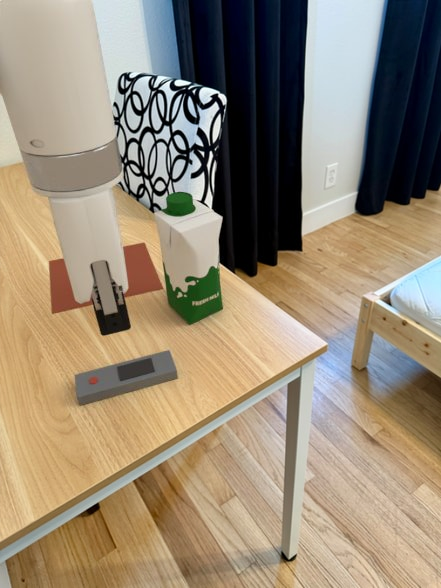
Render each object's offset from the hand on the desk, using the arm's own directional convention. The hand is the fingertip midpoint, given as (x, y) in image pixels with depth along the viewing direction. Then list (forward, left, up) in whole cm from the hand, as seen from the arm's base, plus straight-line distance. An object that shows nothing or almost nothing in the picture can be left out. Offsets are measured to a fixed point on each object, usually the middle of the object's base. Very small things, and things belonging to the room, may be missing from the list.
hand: (115, 327), depth 46 cm
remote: (0, +8, -17) cm, 19 cm away
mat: (0, +37, -17) cm, 40 cm away
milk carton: (+14, +20, -17) cm, 30 cm away
